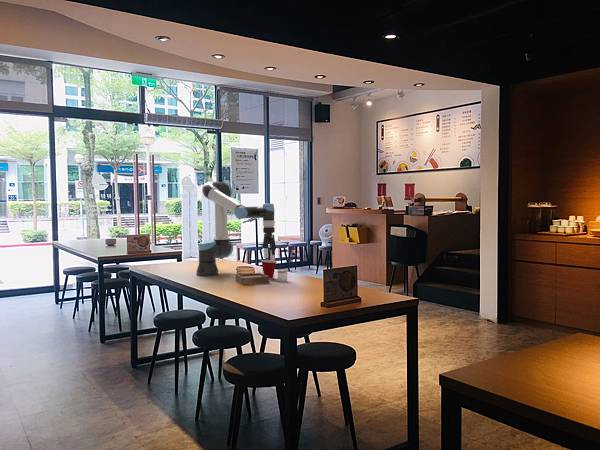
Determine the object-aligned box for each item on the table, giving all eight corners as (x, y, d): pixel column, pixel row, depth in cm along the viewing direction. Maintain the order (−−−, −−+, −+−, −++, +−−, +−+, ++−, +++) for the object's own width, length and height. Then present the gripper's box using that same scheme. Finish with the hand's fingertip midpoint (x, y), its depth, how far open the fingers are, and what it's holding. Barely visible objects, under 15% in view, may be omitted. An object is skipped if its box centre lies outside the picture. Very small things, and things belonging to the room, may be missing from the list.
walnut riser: (235, 280, 327) (235, 274, 327) (260, 279, 334) (260, 272, 334) (243, 285, 312) (242, 278, 311) (269, 283, 318) (269, 276, 318)
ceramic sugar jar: (276, 280, 328) (276, 269, 328) (285, 280, 331) (285, 269, 330) (279, 282, 322) (279, 271, 322) (289, 281, 324) (289, 270, 324)
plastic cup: (276, 279, 333) (276, 261, 332) (260, 279, 333) (260, 261, 333) (277, 276, 344) (277, 259, 343) (261, 276, 344) (261, 259, 343)
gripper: (280, 227, 327) (281, 260, 328) (268, 226, 350) (268, 256, 351) (269, 227, 324) (270, 261, 325) (257, 226, 347) (258, 257, 348)
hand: (269, 259), depth 338 cm, fingers open, 13 cm apart
